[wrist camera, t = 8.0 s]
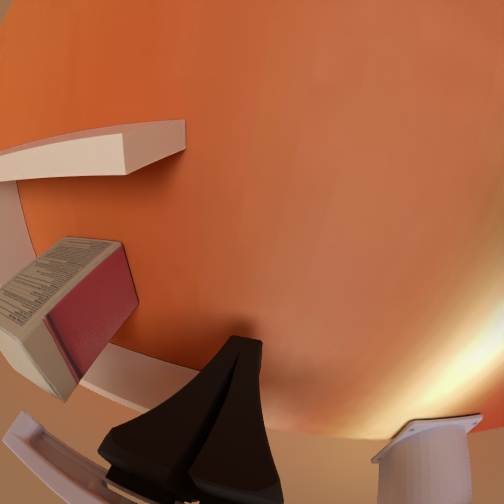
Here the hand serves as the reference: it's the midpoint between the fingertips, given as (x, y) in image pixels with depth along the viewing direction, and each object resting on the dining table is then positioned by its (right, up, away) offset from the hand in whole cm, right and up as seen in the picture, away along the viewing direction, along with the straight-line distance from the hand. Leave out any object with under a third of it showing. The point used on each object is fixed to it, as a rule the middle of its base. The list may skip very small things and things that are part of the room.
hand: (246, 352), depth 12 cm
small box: (-9, +4, +3) cm, 10 cm away
